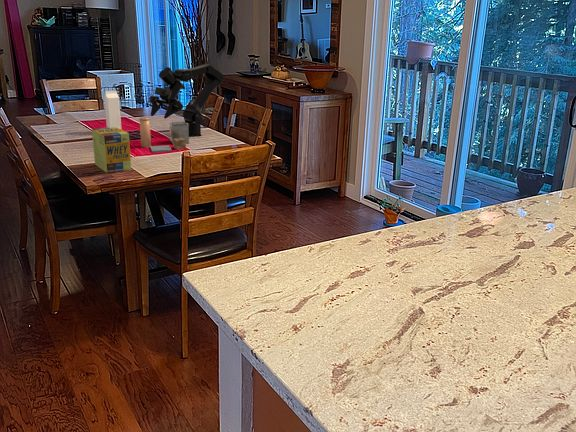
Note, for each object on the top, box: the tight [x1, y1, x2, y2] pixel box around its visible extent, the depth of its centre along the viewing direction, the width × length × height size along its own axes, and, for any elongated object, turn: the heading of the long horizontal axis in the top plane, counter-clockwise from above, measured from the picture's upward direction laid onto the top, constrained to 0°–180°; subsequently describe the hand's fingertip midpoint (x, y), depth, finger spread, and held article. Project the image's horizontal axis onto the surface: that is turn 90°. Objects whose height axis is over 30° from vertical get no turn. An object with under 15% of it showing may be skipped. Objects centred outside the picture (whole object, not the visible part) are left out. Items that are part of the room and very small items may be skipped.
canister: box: [138, 116, 152, 149], centre depth 267 cm, size 5×5×14 cm
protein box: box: [91, 127, 132, 174], centre depth 231 cm, size 10×15×16 cm
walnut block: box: [172, 138, 187, 151], centre depth 267 cm, size 4×4×4 cm
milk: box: [103, 89, 122, 130], centre depth 291 cm, size 6×6×22 cm
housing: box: [169, 121, 190, 145], centre depth 278 cm, size 8×8×10 cm
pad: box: [149, 144, 173, 153], centre depth 264 cm, size 9×9×1 cm
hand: (157, 116), depth 271 cm, fingers open, 9 cm apart
